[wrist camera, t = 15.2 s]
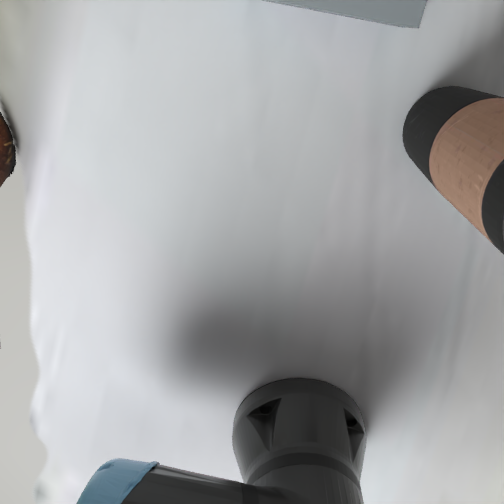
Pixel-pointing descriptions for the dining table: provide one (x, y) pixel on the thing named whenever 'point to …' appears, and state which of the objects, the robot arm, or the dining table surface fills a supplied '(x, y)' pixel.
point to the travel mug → (462, 153)
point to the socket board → (368, 9)
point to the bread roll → (6, 151)
